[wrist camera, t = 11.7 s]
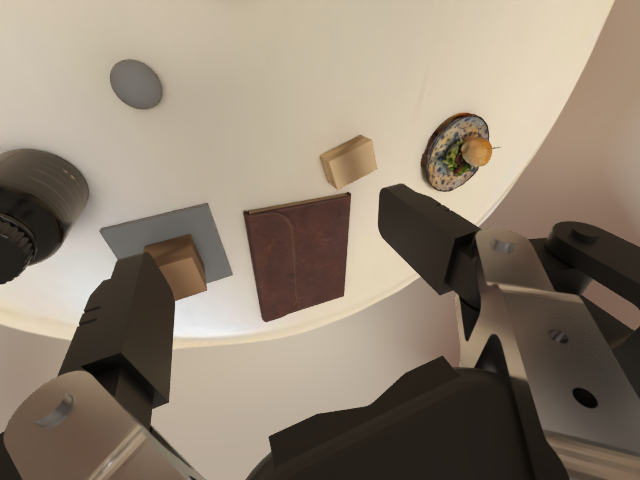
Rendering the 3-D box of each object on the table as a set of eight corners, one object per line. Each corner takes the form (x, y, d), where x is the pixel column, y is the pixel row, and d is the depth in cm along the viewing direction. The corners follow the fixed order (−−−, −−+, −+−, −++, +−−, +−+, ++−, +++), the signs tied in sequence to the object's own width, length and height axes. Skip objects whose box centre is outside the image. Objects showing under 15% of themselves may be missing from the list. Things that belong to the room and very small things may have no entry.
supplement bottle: (41, 229, 27) (-31, 318, 18) (-36, 168, 23) (-182, 244, 14) (108, 198, 28) (73, 267, 19) (46, 133, 24) (-39, 183, 14)
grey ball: (152, 57, 24) (149, 57, 21) (169, 102, 26) (167, 108, 23) (105, 61, 23) (95, 62, 20) (126, 108, 25) (120, 115, 22)
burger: (406, 173, 42) (441, 191, 36) (453, 96, 38) (501, 103, 32) (448, 197, 49) (484, 215, 43) (492, 133, 45) (538, 145, 39)
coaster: (207, 203, 32) (207, 205, 32) (232, 272, 39) (232, 275, 38) (100, 228, 29) (99, 231, 29) (146, 299, 36) (146, 302, 35)
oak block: (359, 134, 36) (371, 140, 33) (365, 162, 38) (377, 169, 36) (319, 154, 35) (328, 161, 32) (328, 181, 37) (337, 189, 35)
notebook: (347, 190, 40) (354, 196, 38) (341, 289, 51) (346, 297, 49) (242, 209, 35) (245, 216, 33) (261, 314, 46) (263, 323, 44)
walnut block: (190, 233, 33) (191, 257, 29) (204, 265, 36) (206, 290, 32) (144, 245, 31) (139, 272, 27) (162, 277, 34) (160, 305, 30)
